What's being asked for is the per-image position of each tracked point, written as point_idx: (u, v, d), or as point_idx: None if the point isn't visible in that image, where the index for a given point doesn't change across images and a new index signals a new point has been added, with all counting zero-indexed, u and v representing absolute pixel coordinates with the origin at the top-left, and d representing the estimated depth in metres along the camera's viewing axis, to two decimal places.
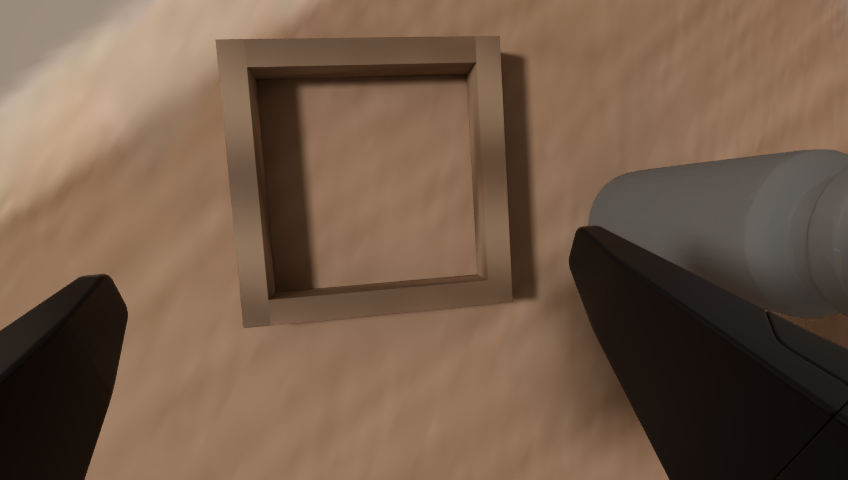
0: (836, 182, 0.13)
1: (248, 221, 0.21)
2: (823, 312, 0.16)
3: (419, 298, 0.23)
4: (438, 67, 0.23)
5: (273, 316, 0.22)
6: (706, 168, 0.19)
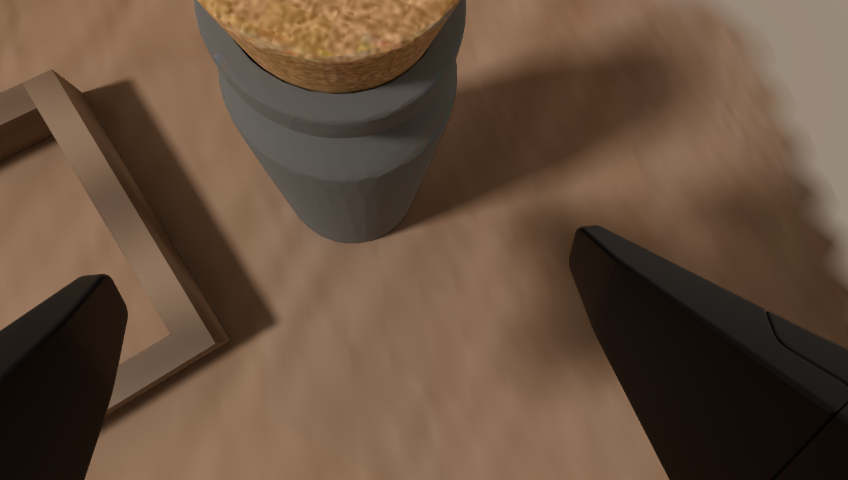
0: None
1: None
2: (398, 155, 0.11)
3: None
4: (8, 135, 0.19)
5: None
6: None
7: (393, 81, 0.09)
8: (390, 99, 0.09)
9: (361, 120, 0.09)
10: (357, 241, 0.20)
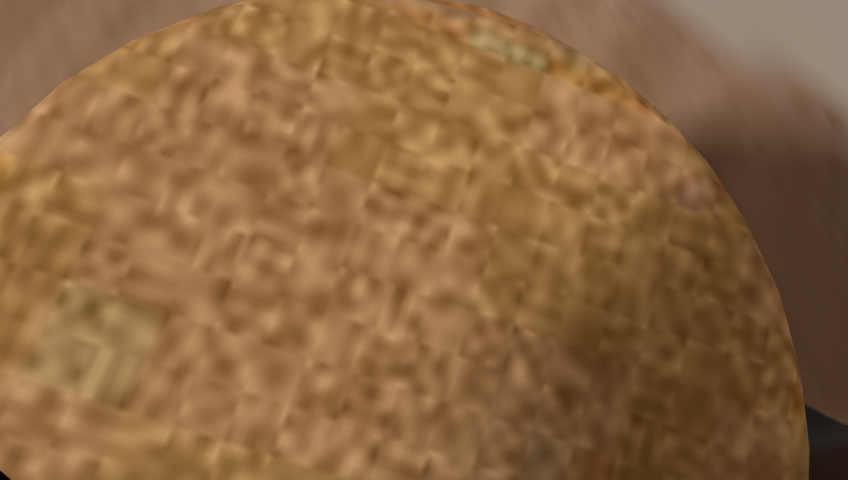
0: None
1: None
2: None
3: None
4: None
5: None
6: None
7: None
8: None
9: None
10: None
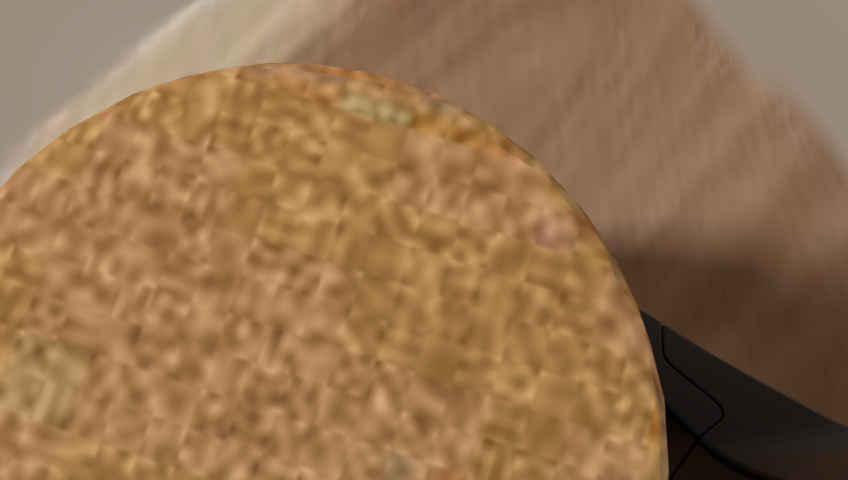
0: None
1: None
2: None
3: None
4: None
5: None
6: None
7: None
8: None
9: None
10: None
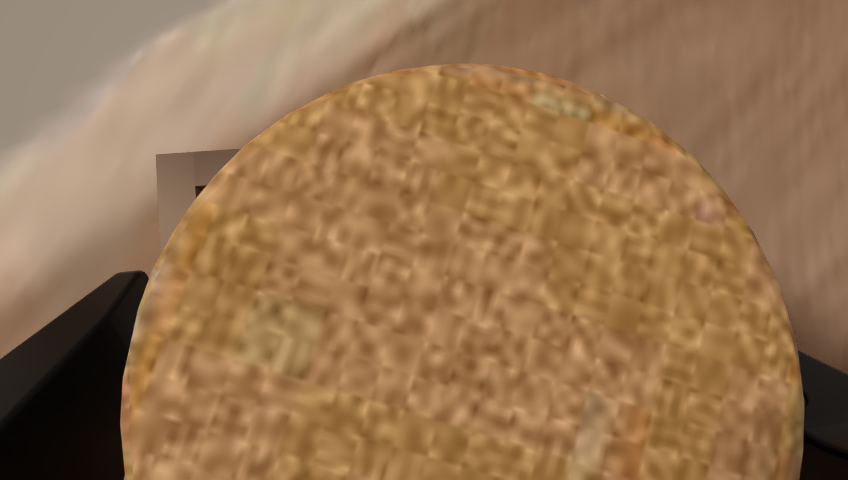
0: None
1: None
2: None
3: None
4: None
5: None
6: None
7: None
8: None
9: None
10: None
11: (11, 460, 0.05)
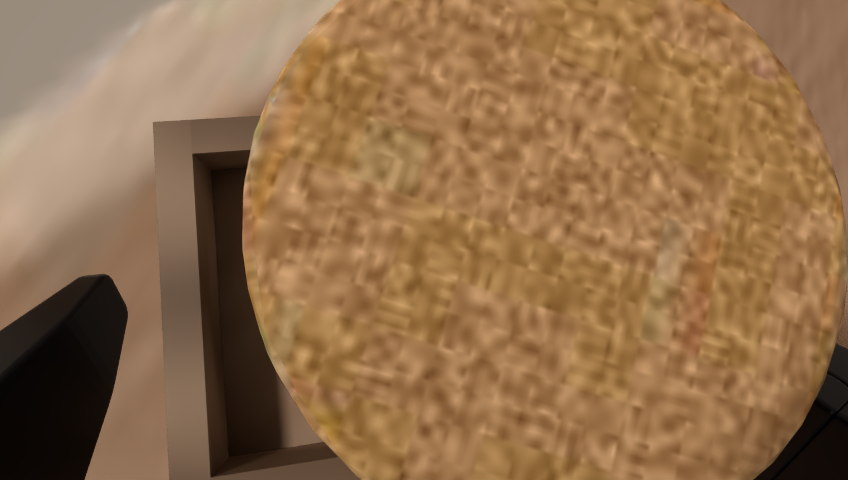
0: None
1: (185, 360, 0.15)
2: None
3: None
4: None
5: None
6: None
7: None
8: None
9: None
10: None
11: None
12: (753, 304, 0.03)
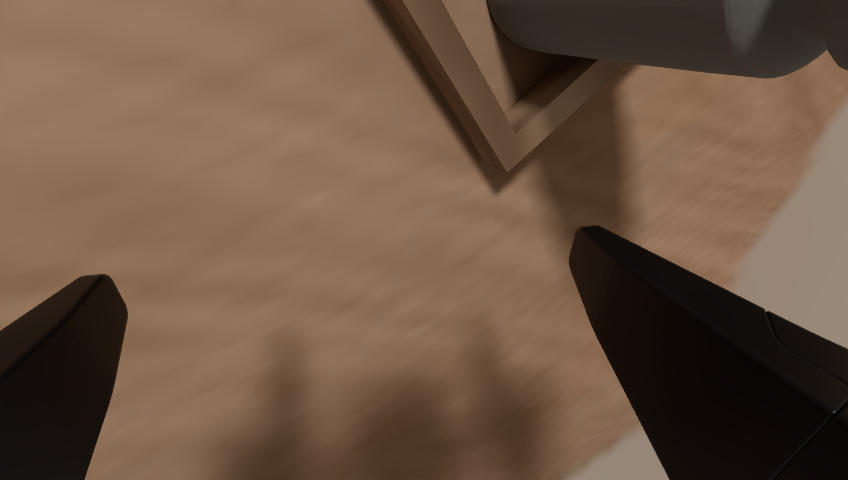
0: None
1: None
2: (755, 59, 0.12)
3: (466, 77, 0.18)
4: None
5: None
6: None
7: None
8: None
9: None
10: (504, 22, 0.19)
11: None
12: None
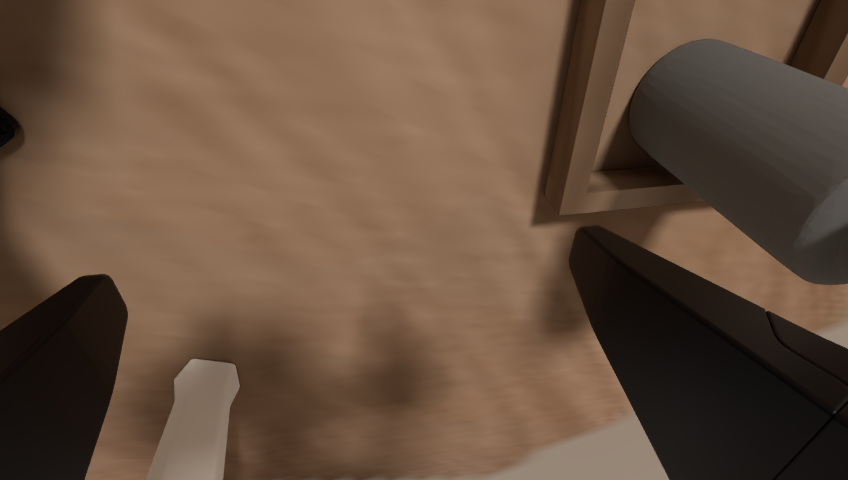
0: None
1: None
2: (803, 256, 0.15)
3: (590, 127, 0.21)
4: None
5: None
6: None
7: None
8: None
9: None
10: (638, 110, 0.22)
11: None
12: None
